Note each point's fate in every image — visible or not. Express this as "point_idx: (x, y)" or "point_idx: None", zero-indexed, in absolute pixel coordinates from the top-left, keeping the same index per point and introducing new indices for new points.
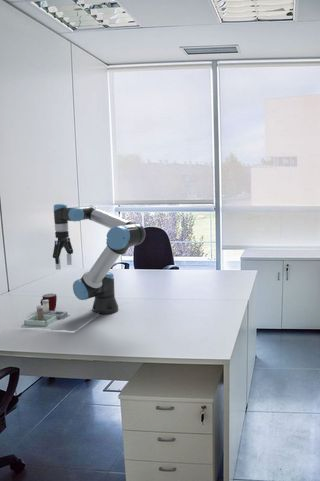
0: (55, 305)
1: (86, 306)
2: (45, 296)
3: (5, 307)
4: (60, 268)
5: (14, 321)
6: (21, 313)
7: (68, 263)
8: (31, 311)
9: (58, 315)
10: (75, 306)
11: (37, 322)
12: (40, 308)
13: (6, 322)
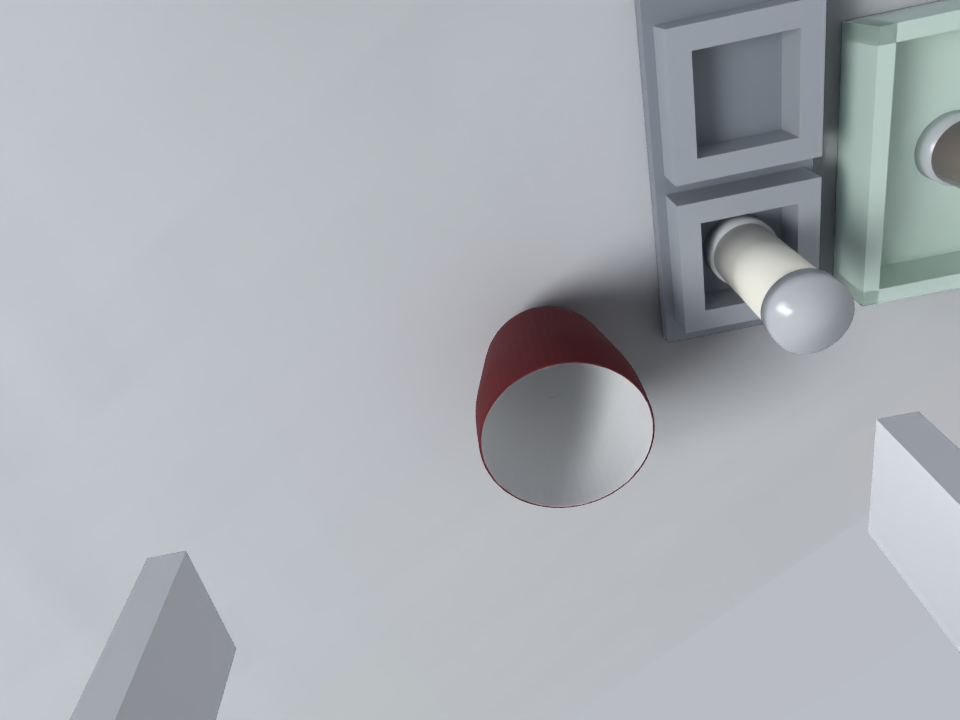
0: (534, 315)
1: (191, 93)
2: (544, 488)
3: (563, 717)
4: (908, 432)
5: None
6: (668, 525)
7: (210, 653)
8: None
9: (822, 39)
10: (262, 224)
11: None
12: None
13: None
